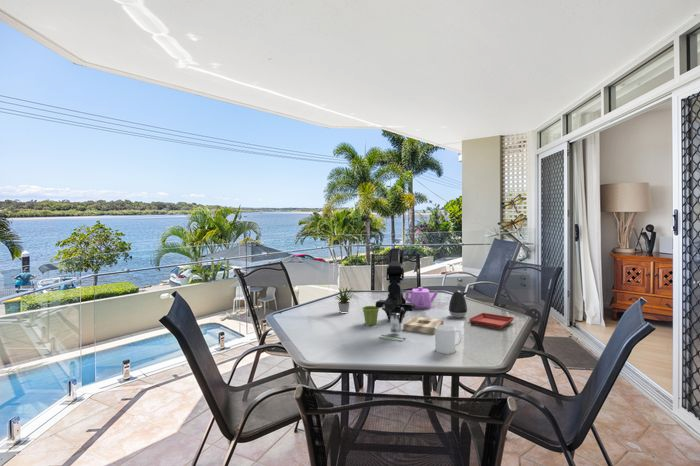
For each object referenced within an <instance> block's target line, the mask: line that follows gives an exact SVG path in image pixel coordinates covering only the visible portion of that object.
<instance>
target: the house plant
mask: <svg viewBox="0 0 700 466" xmlns="http://www.w3.org/2000/svg"><path fill="white" fill-rule="evenodd" d="M341 287H342V289H341V288H340V287H338V295H339V296H338V295H335V298H334V299H335V300H338V302H337V304H338V305H337V306H338V310H339V312H340V311H341V312H348V313H349V311H350V304H351V303H350V301H351V299H352V298H353V294H351V293H353V292H354V291H355V289H354V287H351V288H350V289H349V290H348V287H345V289H344V287H343V286H341ZM333 291H334V292H336V290H335V289H333ZM350 294H351V295H350Z"/></svg>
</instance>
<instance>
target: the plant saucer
mask: <svg viewBox="0 0 700 466" xmlns="http://www.w3.org/2000/svg"><path fill="white" fill-rule="evenodd" d="M514 320H515V317H514V316H506V315H501V314H495V313H494V314H493V313H487V312H481V313H479V314H477V315H475V316H473V317H470V318H468V321H469V322H470V323H471V324H473V325H475V326H480V327H487V328H491V329H497V330H502V329H503V328H505V327H506V326H508V325H509V324H511V323H512V322H513V321H514Z"/></svg>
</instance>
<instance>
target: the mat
mask: <svg viewBox="0 0 700 466" xmlns="http://www.w3.org/2000/svg"><path fill="white" fill-rule="evenodd" d="M378 339H385V340H390V341H391V340H392V341H396V342H397V341H398V342H404V341H405V340H406V339H407V338H404V337H397V336H391V335H385V334H380V336H378Z"/></svg>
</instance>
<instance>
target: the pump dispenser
mask: <svg viewBox="0 0 700 466" xmlns="http://www.w3.org/2000/svg"><path fill="white" fill-rule="evenodd" d="M466 295H468V291H465V292H462V291H460V290H455V291H453V293H452V294H451V296H450V300H449V304H448V311H449V313H450V316H452V317H453V318H456V319H463V318H465V317H466V315H467V312H468V303H467V300H466V297H465V296H466Z"/></svg>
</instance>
